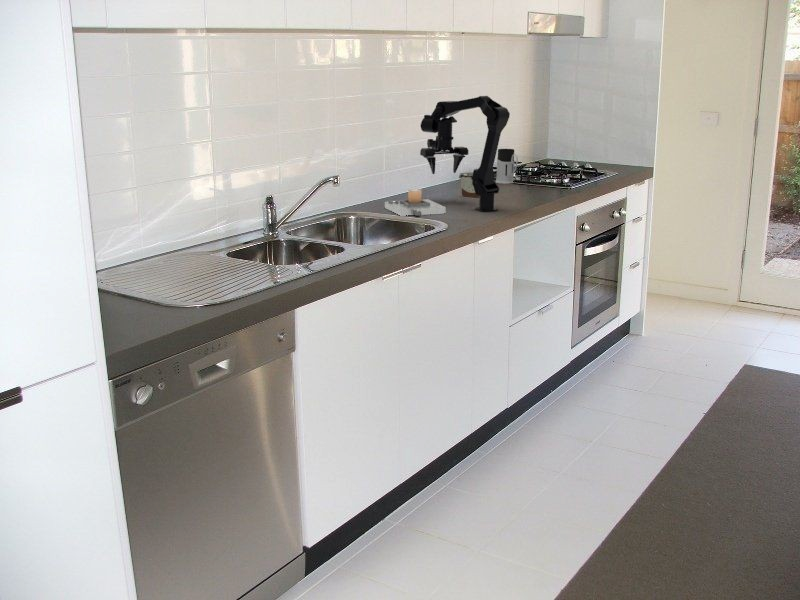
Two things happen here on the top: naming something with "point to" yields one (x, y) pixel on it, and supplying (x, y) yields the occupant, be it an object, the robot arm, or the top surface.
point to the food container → (467, 186)
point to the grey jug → (506, 166)
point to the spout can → (414, 196)
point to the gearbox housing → (414, 207)
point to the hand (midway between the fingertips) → (444, 173)
